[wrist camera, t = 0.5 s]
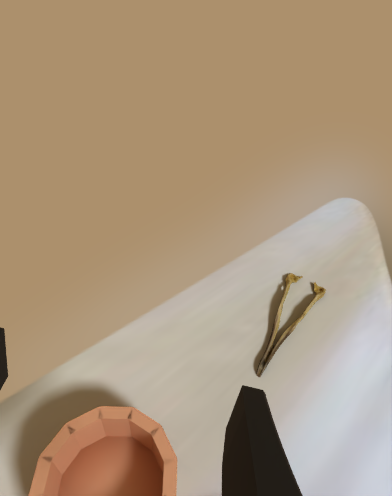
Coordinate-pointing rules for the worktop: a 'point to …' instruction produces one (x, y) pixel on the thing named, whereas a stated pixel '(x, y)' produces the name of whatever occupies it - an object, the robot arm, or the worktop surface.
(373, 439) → the worktop surface
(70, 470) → the bowl
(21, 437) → the worktop surface
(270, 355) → the tongs
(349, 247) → the worktop surface
